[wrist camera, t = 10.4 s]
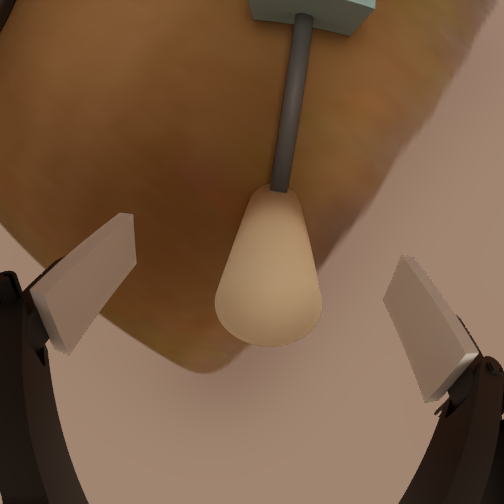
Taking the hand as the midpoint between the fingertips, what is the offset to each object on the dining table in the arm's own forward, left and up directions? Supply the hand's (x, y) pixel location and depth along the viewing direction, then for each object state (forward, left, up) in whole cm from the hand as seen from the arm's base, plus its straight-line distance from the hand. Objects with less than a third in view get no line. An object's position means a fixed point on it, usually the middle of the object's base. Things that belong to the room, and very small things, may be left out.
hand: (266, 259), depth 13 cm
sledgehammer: (0, +9, -9) cm, 13 cm away
